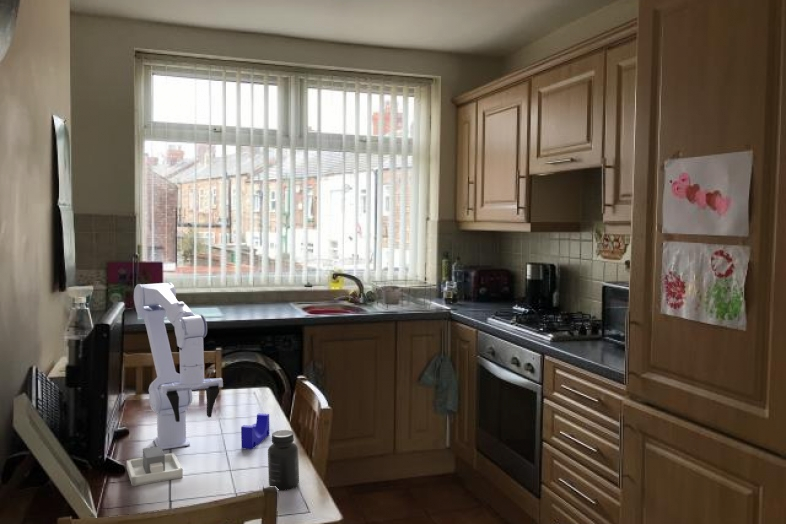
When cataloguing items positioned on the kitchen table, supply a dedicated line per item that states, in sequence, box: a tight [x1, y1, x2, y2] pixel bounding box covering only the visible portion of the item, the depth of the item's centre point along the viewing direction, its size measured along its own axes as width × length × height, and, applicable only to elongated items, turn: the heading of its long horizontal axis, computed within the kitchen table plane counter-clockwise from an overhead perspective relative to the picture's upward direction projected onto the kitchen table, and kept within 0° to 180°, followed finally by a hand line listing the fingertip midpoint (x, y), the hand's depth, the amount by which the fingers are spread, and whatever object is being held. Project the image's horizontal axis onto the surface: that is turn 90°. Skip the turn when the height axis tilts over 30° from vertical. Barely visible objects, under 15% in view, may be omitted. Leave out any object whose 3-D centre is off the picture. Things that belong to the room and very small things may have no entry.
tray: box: [126, 452, 184, 487], centre depth 156 cm, size 12×11×2 cm
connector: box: [142, 446, 165, 474], centre depth 156 cm, size 9×4×4 cm, turn 27°
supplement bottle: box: [267, 429, 300, 492], centre depth 149 cm, size 7×7×12 cm
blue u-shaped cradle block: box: [240, 412, 270, 450], centre depth 179 cm, size 12×4×6 cm, turn 169°
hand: (193, 418), depth 164 cm, fingers open, 7 cm apart
